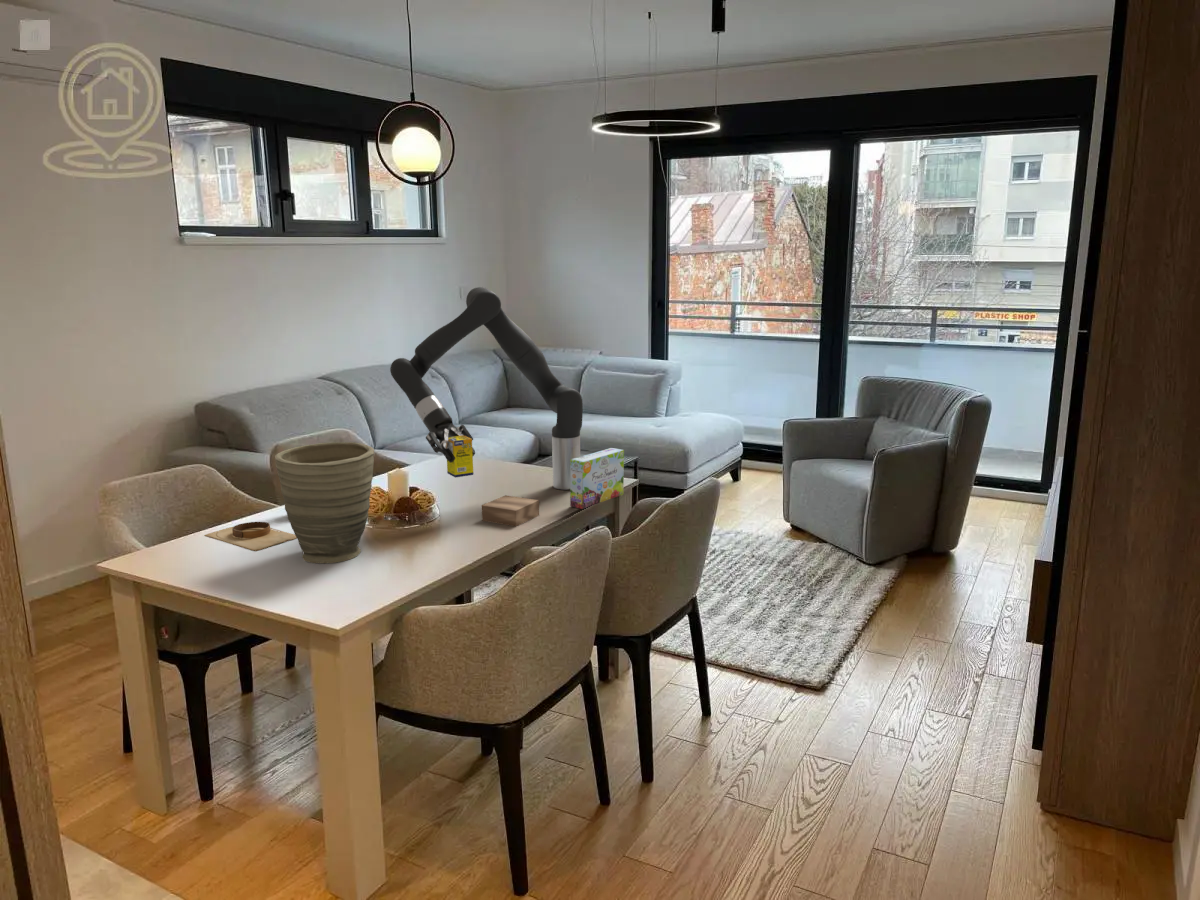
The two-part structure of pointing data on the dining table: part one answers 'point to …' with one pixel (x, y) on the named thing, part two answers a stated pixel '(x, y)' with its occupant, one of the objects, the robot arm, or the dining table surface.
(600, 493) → the snack box
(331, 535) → the vase
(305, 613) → the dining table surface
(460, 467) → the supplement box
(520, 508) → the walnut block
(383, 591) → the dining table surface
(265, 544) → the board
